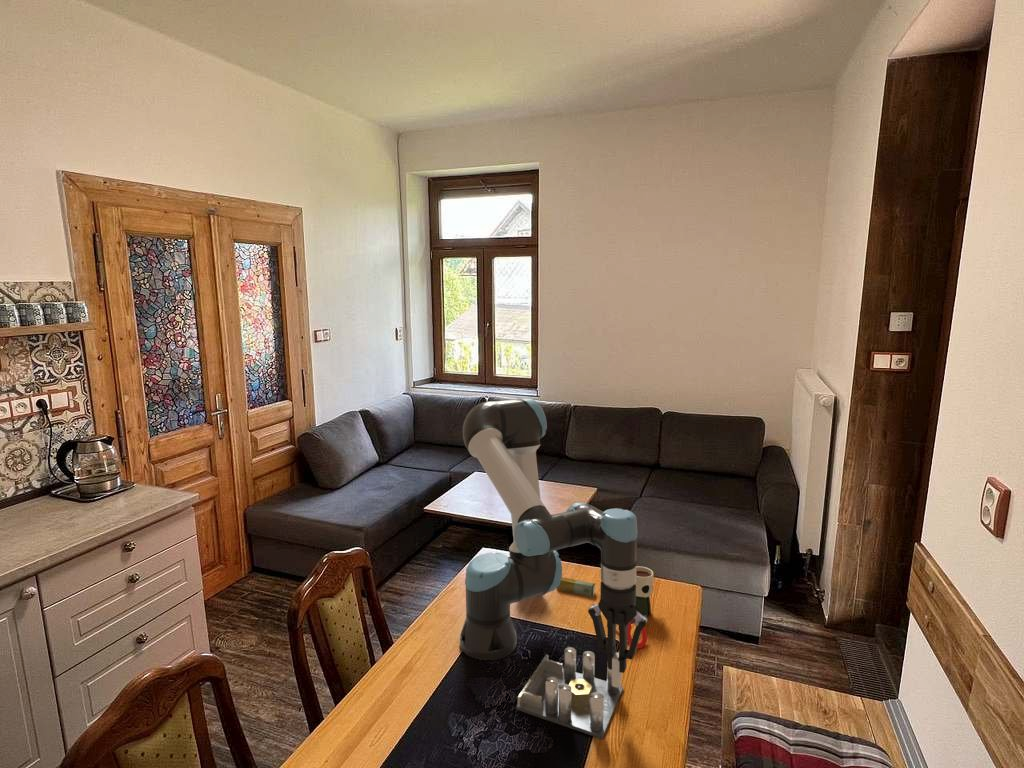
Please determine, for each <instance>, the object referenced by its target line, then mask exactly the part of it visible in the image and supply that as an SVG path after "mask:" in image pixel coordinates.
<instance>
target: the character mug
mask: <svg viewBox="0 0 1024 768" xmlns="http://www.w3.org/2000/svg"><path fill="white" fill-rule="evenodd" d="M635 584H636V606H637V608H638V612H639V613H640V614H641V615H642V616H647V617H648V616H649V615H651V613H652V612H651V611H652V609H651V608H652V607H651V598H650V597H651V596H653V593H654V571H653V570H652V569H650V568H648V567H646V566H640V565H639V566H638V565H636V583H635Z"/></svg>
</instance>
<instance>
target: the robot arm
mask: <svg viewBox="0 0 1024 768" xmlns="http://www.w3.org/2000/svg"><path fill="white" fill-rule="evenodd" d="M547 429H548V424H547V416H546V414H545V412H544V409H543V408H542V405H540V404H539V402H538V401H536V400H535V399H533V398H513V399H503V400H495V401H484V402H483V401H482V402H481V403H478V404H477V405H475V406H474V407H473V408H471V410H469V412H468V414H466V417H465V419H464V421H463V424H462V439H463V443H464V446H465V448H466V449H467V451H468V452H469V454H470V455H471V456H472V457H473V458H476V459H477V460H478V462H479V463H480V465H481V467H482V469H483V470H484V471H485V474H486V475H487V476H488V478H489V480H490V482H491V483H492V485H493V487H494V488H495V490H496V491H497V493H498V495H499V497H500V498H501V499H502V501H503V503H504V505H505V506H506V508H507V511H509V513H510V516H511V517H510V518H511V526H512V537H513V542H512V543H511V544H510V546H509V547H508V551H509V556H508V555H506V554H504V553H500V552H495V553H493V552H488V553H487V552H486V553H484V554H480V555H478V556H476V557H475V558H473V559H471V561H469V564H468V565H467V566H466V571H465V579H464V580H465V581H464V585H465V613H466V614H465V619H464V622H463V626H462V629H461V631H460V635H459V647H460V650H461V649H462V650H461V651H462V653H463V652H464V653H465V654H464V653H463V654H464V655H466V656H467V655H468V656H467V657H469V656H470V657H469V658H471V657H472V658H471V659H473V658H475V659H474V660H476V659H479V660H478V661H482V660H485V662H487V661H486V660H490V661H491V660H492V661H497V660H501V659H504V658H506V657H508V656H509V655H511V654H512V653H513V652H514V651H515V649H516V648H517V643H518V642H517V632H516V629H515V626H514V623H513V620H512V617H511V605H512V604H515V603H518V602H522V601H526V600H529V599H532V598H535V597H539V596H545V595H546V594H548V593H551V592H553V591H555V590H557V586H558V585H559V584H560V581H561V578H562V577H563V565H562V559H561V558H559V557H560V556H559V555H560V554H559V552H558V550H561V549H566V548H569V547H570V548H571V547H574V546H579V545H582V544H586V543H588V544H591V545H593V546H594V547H597V548H598V549H599V550H600V595H599V596H600V599H599V601H598V603H597V604H595V603H593V604H590V607H589V608H588V610H587V612H588V614H589V616H590V618H591V619H592V623H593V628H594V631H595V636H596V641H597V646H598V650H599V651H600V653H605V654H606V655H607V663H608V669H610V670H612V686H613V687H617V688H619V686H620V685H621V683H622V678H623V676H622V674H624V673H625V671H626V670H627V660H630V661H631V660H633V658H634V657H635V654H636V650H637V649H638V648H637V645H638V643H639V640H640V638H641V636H642V629H643V628H644V627H645V628H646V625H647V623H648V621H649V617H648V616H642V615H641V614H640V613H639V612H638V608H637V606H636V584H635V583H636V566H637V555H638V552H637V551H638V546H637V545H638V535H639V531H638V522H637V516H636V514H635V513H634V512H632V511H631V510H628V509H623V508H617V507H615V508H609V509H606V510H604V511H603V510H600V509H599V508H597V507H596V506H593V505H591V504H587V503H586V502H585V503H584V502H575V503H573V504H572V505H571V506H569V507H567V510H566V511H565V512H561V513H560V512H559V513H555V514H554V513H553V514H551V513H550V511H549V510H548V509H547V507H546V506H545V504H544V503H543V501H542V499H541V491H540V490H541V489H540V481H539V472H538V462H537V450H538V449H539V448H540V446H541V441H540V439H542V438H543V437H544V436H545V435H546V433H547V432H546V431H547ZM601 613H602V614H601ZM602 615H603V617H604V618H605V620H606V628H607V636H606V631H605V627H604V622H603V617H602ZM633 618H636V621H635V623H636V625H637V626H636V625H635V629H634V631H633V634H632V637H631V638H632V641H631V645H630V644H629V645H630V646H629V649H628V640H627V629H628V623H629V622H630V621H631V620H632V619H633ZM635 623H634V624H635ZM616 624H618V625H617V626H618V634H619V635H618V640H619V641H618V651H616V650H617V647H616V646H617V645H616V644H617V643H616V640H617V626H616Z"/></svg>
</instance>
